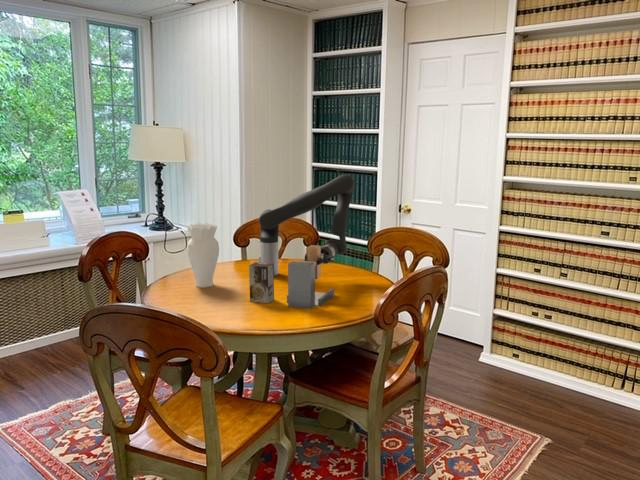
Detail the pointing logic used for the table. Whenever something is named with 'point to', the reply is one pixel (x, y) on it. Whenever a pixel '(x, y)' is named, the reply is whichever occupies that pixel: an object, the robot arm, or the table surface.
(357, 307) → the table surface
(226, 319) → the table surface
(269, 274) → the coffee box
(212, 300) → the table surface
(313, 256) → the copper bar
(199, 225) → the vase
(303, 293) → the grey metal bracket
